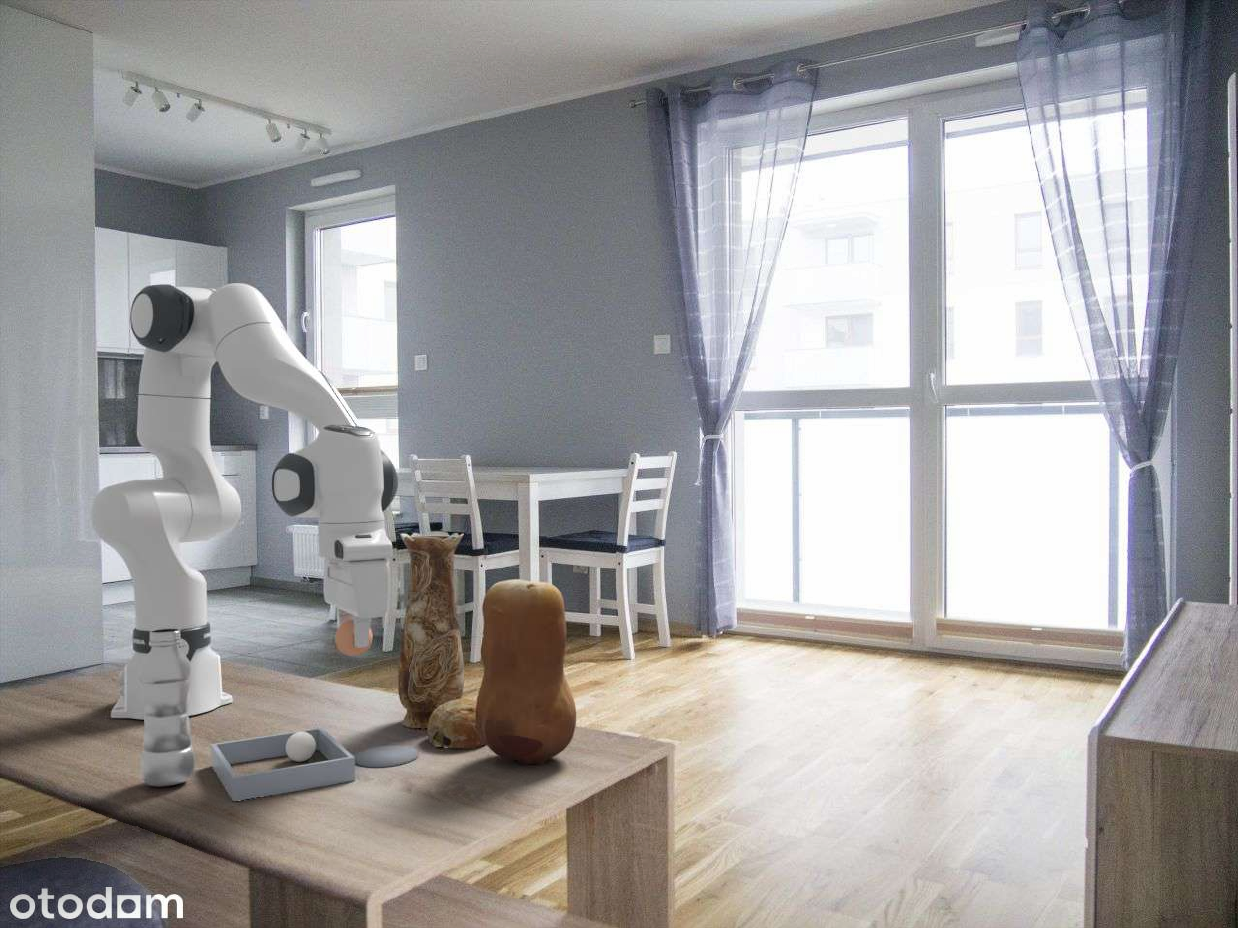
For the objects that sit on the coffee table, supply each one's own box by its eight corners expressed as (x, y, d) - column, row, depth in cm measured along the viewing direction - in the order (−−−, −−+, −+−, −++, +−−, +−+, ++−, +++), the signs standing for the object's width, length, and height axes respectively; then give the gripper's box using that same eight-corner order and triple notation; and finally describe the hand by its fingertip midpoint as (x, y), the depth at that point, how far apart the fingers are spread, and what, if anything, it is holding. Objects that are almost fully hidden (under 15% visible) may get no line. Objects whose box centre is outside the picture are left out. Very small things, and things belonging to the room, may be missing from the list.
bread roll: (421, 767, 146) (408, 725, 143) (452, 721, 155) (440, 680, 151) (481, 774, 142) (469, 730, 139) (510, 727, 151) (499, 684, 148)
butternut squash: (573, 743, 144) (570, 572, 144) (580, 772, 131) (577, 584, 131) (476, 748, 143) (474, 574, 142) (474, 778, 129) (471, 587, 129)
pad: (345, 754, 140) (345, 752, 140) (406, 744, 145) (406, 742, 145) (363, 771, 133) (363, 769, 133) (427, 760, 137) (427, 758, 137)
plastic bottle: (160, 796, 124) (157, 636, 124) (129, 787, 128) (126, 632, 128) (206, 781, 130) (203, 628, 129) (174, 773, 133) (172, 624, 133)
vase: (432, 710, 164) (430, 530, 164) (480, 719, 158) (477, 532, 158) (384, 724, 156) (381, 534, 156) (432, 735, 150) (429, 537, 149)
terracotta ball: (331, 655, 137) (330, 619, 137) (367, 651, 140) (366, 615, 140) (340, 661, 133) (339, 623, 133) (377, 656, 135) (376, 620, 135)
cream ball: (283, 759, 138) (282, 731, 138) (312, 755, 140) (311, 727, 140) (289, 767, 135) (288, 738, 135) (319, 762, 137) (318, 733, 137)
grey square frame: (211, 766, 136) (210, 744, 136) (321, 748, 144) (321, 727, 144) (233, 802, 121) (233, 778, 121) (355, 780, 129) (354, 757, 129)
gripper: (311, 539, 144) (313, 635, 144) (348, 548, 126) (350, 657, 126) (354, 537, 147) (357, 630, 147) (396, 545, 129) (399, 651, 129)
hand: (354, 643), depth 136 cm, fingers closed on terracotta ball, 5 cm apart
